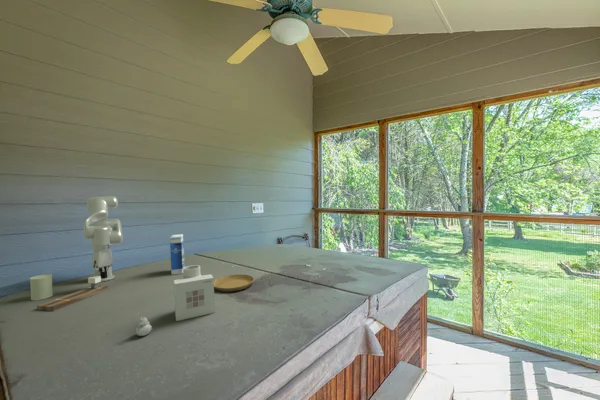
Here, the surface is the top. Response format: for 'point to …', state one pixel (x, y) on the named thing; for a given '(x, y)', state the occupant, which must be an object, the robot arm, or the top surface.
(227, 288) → the plant saucer
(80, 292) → the fader console
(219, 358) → the top surface
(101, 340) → the top surface
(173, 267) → the string lights box
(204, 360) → the top surface
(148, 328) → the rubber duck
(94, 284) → the fader knob
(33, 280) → the can
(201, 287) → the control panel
